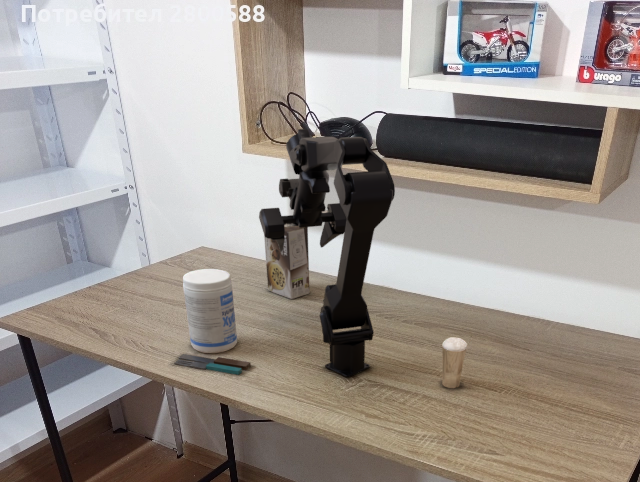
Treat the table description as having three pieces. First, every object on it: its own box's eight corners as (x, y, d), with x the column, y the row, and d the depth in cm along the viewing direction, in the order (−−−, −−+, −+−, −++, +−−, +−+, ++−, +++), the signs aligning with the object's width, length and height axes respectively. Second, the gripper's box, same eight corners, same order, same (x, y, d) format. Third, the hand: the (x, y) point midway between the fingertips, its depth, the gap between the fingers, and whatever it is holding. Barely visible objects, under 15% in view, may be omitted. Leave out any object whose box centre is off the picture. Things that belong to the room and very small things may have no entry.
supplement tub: (237, 354, 139) (230, 283, 131) (189, 356, 138) (179, 284, 129) (237, 334, 147) (231, 267, 138) (192, 336, 146) (183, 268, 137)
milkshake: (460, 393, 126) (466, 343, 120) (434, 386, 128) (438, 336, 123) (470, 384, 129) (476, 334, 124) (445, 376, 132) (449, 328, 126)
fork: (242, 371, 132) (242, 367, 132) (238, 375, 131) (237, 371, 130) (179, 360, 136) (178, 356, 135) (173, 364, 134) (173, 360, 134)
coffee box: (310, 293, 168) (309, 226, 159) (291, 300, 164) (288, 231, 155) (286, 284, 173) (283, 218, 164) (266, 290, 169) (262, 223, 160)
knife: (250, 366, 134) (250, 362, 134) (246, 370, 133) (245, 366, 132) (183, 354, 138) (182, 350, 137) (178, 359, 136) (177, 354, 136)
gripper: (344, 160, 141) (331, 216, 155) (255, 165, 135) (250, 222, 149) (359, 202, 137) (345, 254, 151) (268, 209, 132) (262, 263, 146)
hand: (301, 247), depth 149 cm, fingers open, 9 cm apart
